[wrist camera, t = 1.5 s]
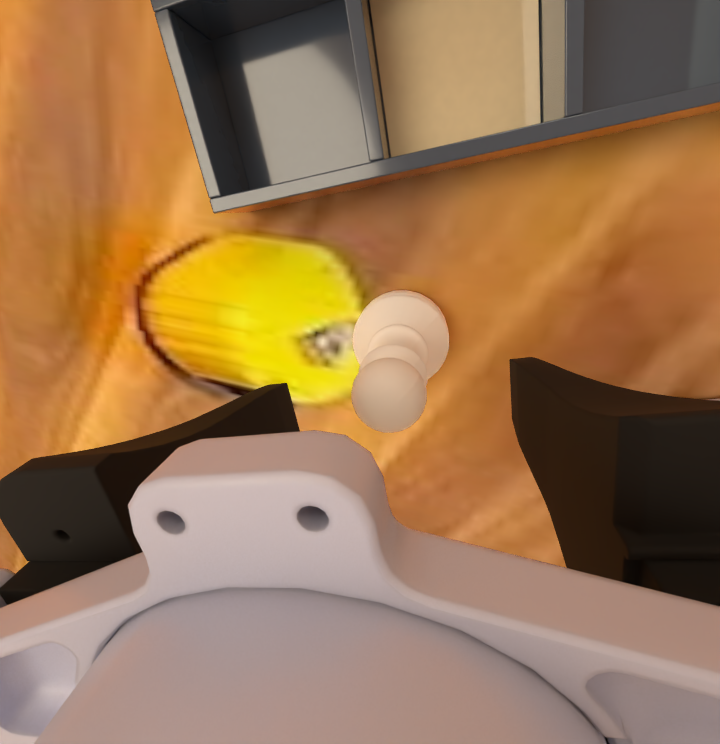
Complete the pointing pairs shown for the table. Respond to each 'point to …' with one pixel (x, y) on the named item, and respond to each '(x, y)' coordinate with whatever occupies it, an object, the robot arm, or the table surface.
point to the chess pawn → (397, 358)
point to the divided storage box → (420, 84)
